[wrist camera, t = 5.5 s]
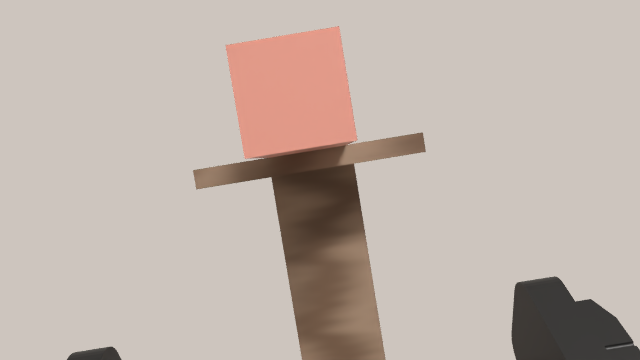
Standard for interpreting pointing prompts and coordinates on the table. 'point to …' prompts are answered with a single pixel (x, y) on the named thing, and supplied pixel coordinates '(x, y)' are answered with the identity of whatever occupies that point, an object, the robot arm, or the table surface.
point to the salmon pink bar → (291, 93)
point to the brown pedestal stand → (324, 241)
